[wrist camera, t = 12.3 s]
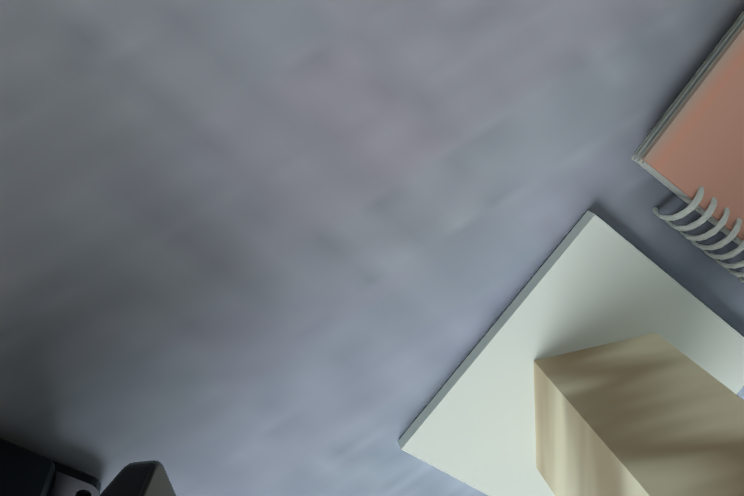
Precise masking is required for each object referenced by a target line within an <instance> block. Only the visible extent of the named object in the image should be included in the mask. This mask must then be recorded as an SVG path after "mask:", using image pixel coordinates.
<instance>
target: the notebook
mask: <svg viewBox="0 0 744 496" xmlns="http://www.w3.org/2000/svg"><path fill="white" fill-rule="evenodd" d="M631 159H632V160H634V161H635V162H636V163H637V164H638V165H640V166H641V167H642V168H643V169H645V170H646V171H647V172H648V173H650V174H651V175H652V176H653V177H655V178H656V179H657V180H658V181H660V182H661V183H662V184H663V185H664V186H666V187H667V188H668V189H669V190H671V191H672V192H673V193H674V194H676V195H677V196H678V197H679V198H681V199H682V200H683V201H684V202H686V203H687V204H688V206H687V207H686V208H685V209H684V210H682V211H680V212H678V213H676V214H674V215H663V214H660V213H659V210H658V208H657V207H653V212H654V214H655V215H657V216H658V217H659V218H661V219H663V220H665V221H666V223H667V224H668V225H670V226H671V227H672V228H674V229H676V230H679V232H680V234H681V235H682V236H684V237H685V238H686V239H688V240H690V241H691V242H692V243H693V245H695V246H696V247H698V248H700V249H702V250H703V251H704V253H705V254H706V255H708V256H710V257H711V258H713V259H715V261H716V262H717V263H718V264H719V265H721V266H723V267H725V268H726V270H727V271H728V272H729V273H731V274H733V275H735V276H736V277H737V278H738V279H739V280H740V281H741V282H743V283H744V279H743V278H742V277H744V272H743V273H741V272H737V271H734V270H732V269H731V268H734V269H736V268H740V267H744V260H743V261H741V262H737V263H732V264H729V263H725V262H722V261H720V259H723V260H724V259H728V258H732V257H734V256H736V255H737V254H739V253H740V252H742V251H743V250H744V11H743V12H742V13H741V15H740V16H739V17H738V18H737V20H736V21H735V22H734V24H733V25H732V26H731V28H730V29H729V30H728V32H727V33H726V34H725V35H724V37H723V38H722V39H721V41H720V42H719V43H718V45H717V46H716V47H715V49H714V50H713V51H712V52H711V54H710V55H709V56H708V58H707V59H706V60H705V62H704V63H703V64H702V66H701V67H700V68H699V70H698V71H697V72H696V73H695V75H694V76H693V77H692V79H691V80H690V81H689V83H688V84H687V85H686V87H685V88H684V89H683V90H682V92H681V93H680V94H679V96H678V97H677V98H676V100H675V101H674V102H673V104H672V105H671V106H670V107H669V109H668V110H667V111H666V113H665V114H664V115H663V117H662V118H661V119H660V121H659V122H658V123H657V125H656V126H655V127H654V128H653V130H652V131H651V132H650V134H649V135H648V136H647V138H646V139H645V140H644V142H643V143H642V144H641V145H640V147H639V148H638V149H637V151H636V152H635V153H634V155H633V156H632V157H631ZM693 210H695V211H697V212H698V213H699V214H700V215H702V216H701V217H700V218H699V219H698V220H696V221H694V222H692V223H690V224H688V225H678V226H677V225H675V224H673V223H672V221H675V220H678V219H681V218H684V217H685V216H686V215H688V214H689V213H690V212H692V211H693ZM707 220H708V221H709V222H710V223H712V224H713V225H714V226H715V227H713V228H712V229H710V230H709V231H708V232H706V233H704V234H700V235H696V236H693V235H688V234H686V233H685V232H684V231H689V230H692V229H695V228H697V227H699V226H700V225H702V224H703V223H705V222H706V221H707ZM719 230H720V231H721V232H723V233H724V234H725V235H726V237H725V238H724V239H723V240H721V241H719V242H718V243H715V244H711V245H703V244H699V243H697V242H696V241H701V240H706V239H708V238H710V237H712V236H714V235H716V234H717V232H718V231H719ZM732 240H733V241H734V242H735V243H736V244H738V245H739V246H738V247H737V248H735V249H734V250H732V251H730V252H728V253H724V254H720V255H718V254H714V253H710V252H709V251H708V250H715V249H719V248H722V247H723V246H725V245H726V244H728V243H729V242H730V241H732Z"/></svg>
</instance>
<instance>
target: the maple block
mask: <svg viewBox="0 0 744 496" xmlns="http://www.w3.org/2000/svg"><path fill="white" fill-rule="evenodd" d="M533 364H534V400H535V435H536V468H537V469H538V471H539V472H540V474H541V475H542V477H543V478H544V480H545V481H546V483H547V484H548V486H549V487H550V489H551V490H552V492H553V493H554V495H555V496H744V400H743V399H742V398H740V397H739V396H738V395H736V394H735V393H734V392H732V391H731V390H730V389H729V388H727V387H726V386H725V385H723V384H722V383H721V382H720V381H718V380H717V379H716V378H714V377H713V376H712V375H710V374H709V373H708V372H707V371H705V370H704V369H703V368H701V367H700V366H699V365H697V364H696V363H695V362H694V361H692V360H691V359H690V358H688V357H687V356H686V355H684V354H683V353H682V352H681V351H679V350H678V349H677V348H675V347H674V346H673V345H672V344H670V343H669V342H668V341H666V340H665V339H664V338H662V337H661V336H660V335H659V334H657V333H651V334H647V335H643V336H638V337H634V338H630V339H625V340H621V341H617V342H612V343H608V344H604V345H599V346H595V347H591V348H586V349H582V350H577V351H573V352H569V353H564V354H560V355H556V356H551V357H547V358H543V359H538V360H534V361H533Z"/></svg>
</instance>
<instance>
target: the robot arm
mask: <svg viewBox="0 0 744 496" xmlns="http://www.w3.org/2000/svg"><path fill="white" fill-rule="evenodd" d="M82 489H84V490H88V491H89V492H90V493H86V494H84V493H81V492H79V490H82ZM100 491H101V484H100V482H99V481H98V480H97V479H96V478H94V477H92V476H90V475H88V474H85V473H83V472H80V471H78V470H75V469H73V468H70V467H68V466H66V465H63V464H61V463H58V462H56V461H53V460H51V459H49V458H46V457H44V456H41V455H39V454H37V453H34V452H32V451H29V450H27V449H24V448H22V447H19V446H17V445H15V444H12V443H10V442H7V441H5V440H2V439H0V496H176V494H175V492H174V490H173V488H172V485H171V483H170V481H169V478H168V476H167V474H166V471H165V469H164V467H163V465H162V464H161V463H160V462H159V461H144V462H134V463H130V464H128V465H127V466H125V467H124V468H123V469H122V470H121V471H120V473H119V474H118V475H117V476H116V477H115V478H114V479H113V481H112V482H111V483H110V484H109V485H108V486H107V487H106V489H105V490H104V491H103V492H102V493H101V494H100Z"/></svg>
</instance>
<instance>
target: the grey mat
mask: <svg viewBox="0 0 744 496" xmlns="http://www.w3.org/2000/svg"><path fill="white" fill-rule="evenodd" d="M651 333H657V334H659V335H660V336H661V337H662V338H664V339H665V340H666V341H668V342H669V343H670V344H672V345H673V346H674V347H675V348H677V349H678V350H679V351H681V352H682V353H683V354H684V355H686V356H687V357H688V358H690V359H691V360H692V361H694V362H695V363H696V364H697V365H699V366H700V367H701V368H703V369H704V370H705V371H707V372H708V373H709V374H710V375H712V376H713V377H714V378H716V379H717V380H718V381H720V382H721V383H722V384H723V385H725V386H726V387H727V388H729V389H730V390H731V391H732V392H734V393H735V394H737V393H738V392H739V391H740V389H741V388H742V387H743V386H744V337H743V336H742V335H741V334H739V333H738V332H737V331H736V330H734V329H733V328H732V327H731V326H730V325H728V324H727V323H726V322H725V321H724V320H722V319H721V318H720V317H719V316H718V315H716V314H715V313H714V312H713V311H712V310H710V309H709V308H708V307H707V306H705V305H704V304H703V303H702V302H701V301H699V300H698V299H697V298H696V297H695V296H693V295H692V294H691V293H690V292H689V291H687V290H686V289H685V288H684V287H682V286H681V285H680V284H679V283H678V282H676V281H675V280H674V279H673V278H672V277H670V276H669V275H668V274H667V273H666V272H664V271H663V270H662V269H661V268H659V267H658V266H657V265H656V264H655V263H653V262H652V261H651V260H650V259H649V258H647V257H646V256H645V255H644V254H643V253H641V252H640V251H639V250H638V249H636V248H635V247H634V246H633V245H632V244H630V243H629V242H628V241H627V240H626V239H624V238H623V237H622V236H621V235H620V234H618V233H617V232H616V231H615V230H613V229H612V228H611V227H610V226H609V225H607V224H606V223H605V222H604V221H603V220H601V219H600V218H599V217H598V216H597V215H595V214H594V213H592V212H590V211H587V212H586V213H585V214H584V215H583V217H582V218H581V219H580V220H579V222H578V223H577V224H576V225H575V226H574V228H573V229H572V230H571V231H570V232H569V234H568V235H567V236H566V237H565V239H564V240H563V241H562V242H561V243H560V245H559V246H558V247H557V248H556V249H555V251H554V252H553V253H552V254H551V256H550V257H549V258H548V259H547V260H546V262H545V263H544V264H543V265H542V267H541V268H540V269H539V270H538V271H537V273H536V274H535V275H534V276H533V277H532V279H531V280H530V281H529V282H528V284H527V285H526V286H525V287H524V288H523V290H522V291H521V292H520V293H519V294H518V296H517V297H516V298H515V299H514V301H513V302H512V303H511V304H510V305H509V307H508V308H507V309H506V310H505V312H504V313H503V314H502V315H501V316H500V318H499V319H498V320H497V321H496V322H495V324H494V325H493V326H492V327H491V329H490V330H489V331H488V332H487V333H486V335H485V336H484V337H483V338H482V339H481V341H480V342H479V343H478V344H477V346H476V347H475V348H474V349H473V350H472V352H471V353H470V354H469V355H468V356H467V358H466V359H465V360H464V361H463V363H462V364H461V365H460V366H459V367H458V369H457V370H456V371H455V372H454V374H453V375H452V376H451V377H450V378H449V380H448V381H447V382H446V383H445V384H444V386H443V387H442V388H441V389H440V391H439V392H438V393H437V394H436V395H435V397H434V398H433V399H432V400H431V401H430V403H429V404H428V405H427V406H426V408H425V409H424V410H423V411H422V412H421V414H420V415H419V416H418V417H417V418H416V420H415V421H414V422H413V423H412V425H411V426H410V427H409V428H408V429H407V431H406V432H405V433H404V434H403V436H402V437H401V438H400V439H399V440H398V443H399V445H400V448H401V450H403V451H405V452H407V453H409V454H411V455H413V456H414V457H416V458H418V459H420V460H422V461H424V462H426V463H428V464H430V465H432V466H434V467H435V468H437V469H439V470H441V471H443V472H445V473H447V474H449V475H451V476H453V477H454V478H456V479H458V480H460V481H462V482H464V483H466V484H468V485H470V486H472V487H473V488H475V489H477V490H479V491H481V492H483V493H485V494H487V495H489V496H555V495H554V493H553V492H552V490H551V489H550V487H549V486H548V484H547V483H546V481H545V480H544V478H543V477H542V475H541V474H540V472H539V471H538V469H537V468H536V435H535V400H534V364H533V361H534V360H538V359H543V358H547V357H551V356H556V355H560V354H564V353H569V352H573V351H577V350H582V349H586V348H591V347H595V346H599V345H604V344H608V343H612V342H617V341H621V340H625V339H630V338H634V337H638V336H643V335H647V334H651Z"/></svg>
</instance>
